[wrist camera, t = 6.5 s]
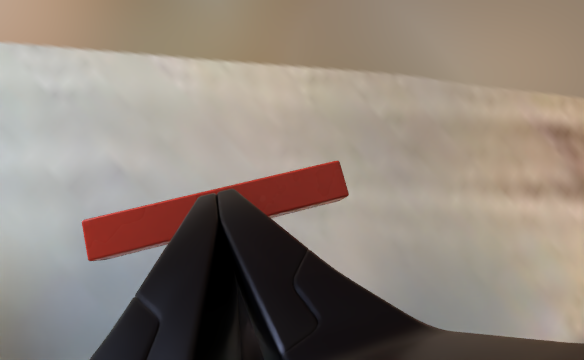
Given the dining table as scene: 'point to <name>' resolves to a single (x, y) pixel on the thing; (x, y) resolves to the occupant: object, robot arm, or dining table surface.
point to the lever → (170, 214)
